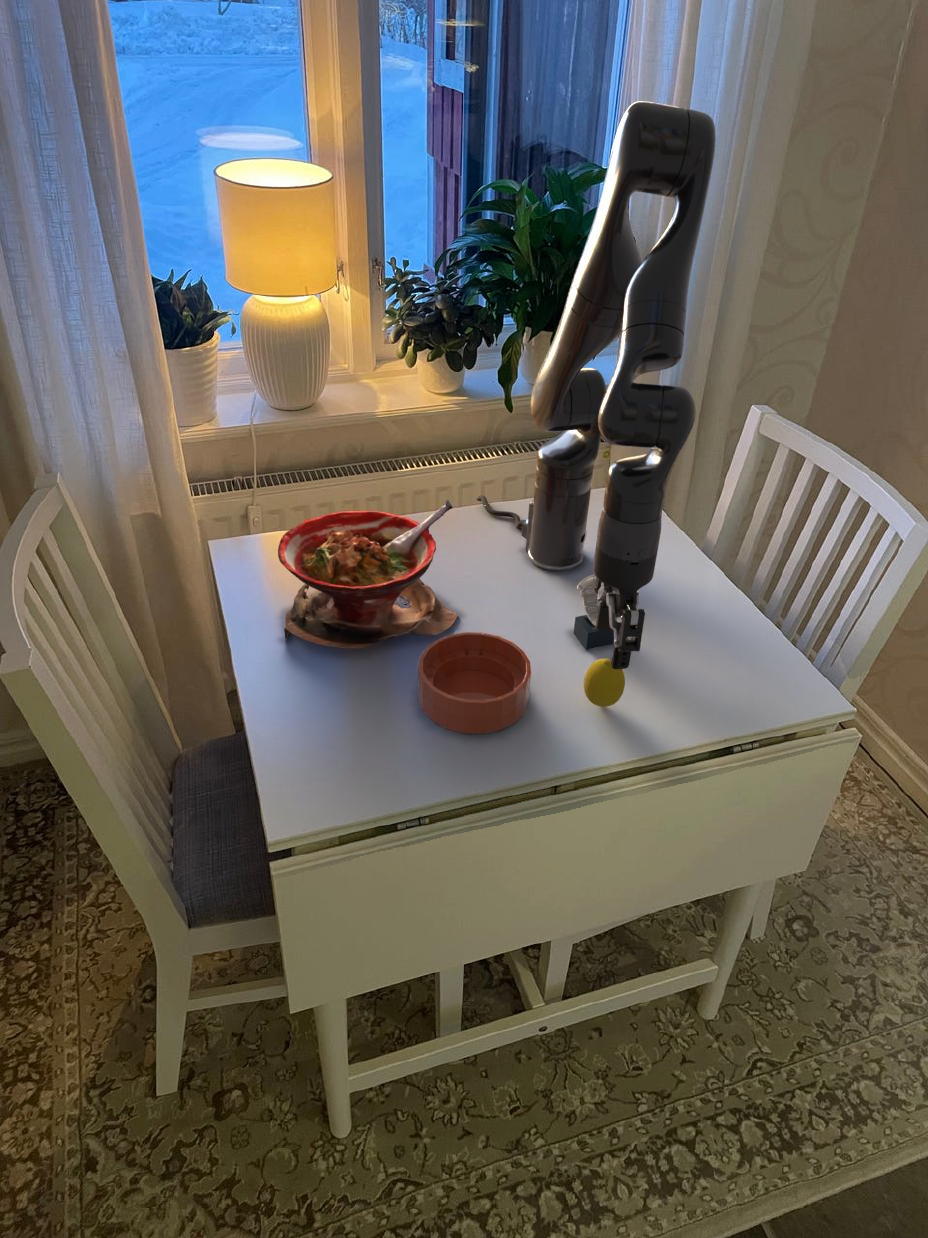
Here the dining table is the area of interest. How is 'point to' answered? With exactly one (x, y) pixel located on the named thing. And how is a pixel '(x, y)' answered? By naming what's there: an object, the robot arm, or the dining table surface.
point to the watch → (590, 618)
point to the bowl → (473, 682)
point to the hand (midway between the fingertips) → (611, 647)
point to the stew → (362, 578)
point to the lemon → (604, 683)
